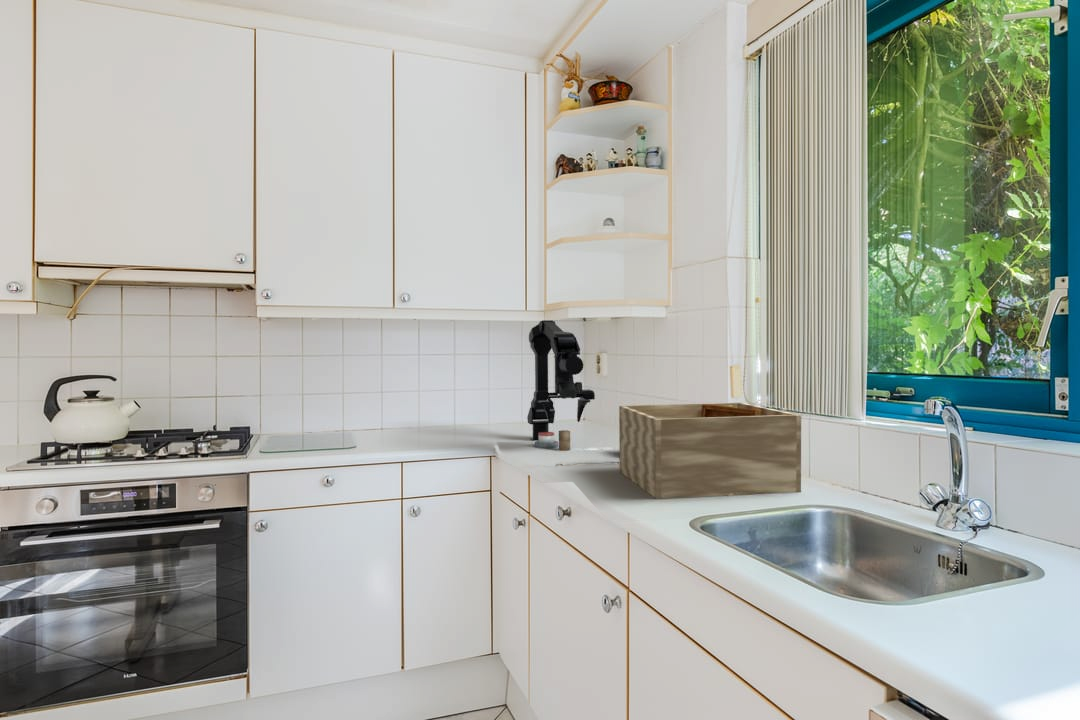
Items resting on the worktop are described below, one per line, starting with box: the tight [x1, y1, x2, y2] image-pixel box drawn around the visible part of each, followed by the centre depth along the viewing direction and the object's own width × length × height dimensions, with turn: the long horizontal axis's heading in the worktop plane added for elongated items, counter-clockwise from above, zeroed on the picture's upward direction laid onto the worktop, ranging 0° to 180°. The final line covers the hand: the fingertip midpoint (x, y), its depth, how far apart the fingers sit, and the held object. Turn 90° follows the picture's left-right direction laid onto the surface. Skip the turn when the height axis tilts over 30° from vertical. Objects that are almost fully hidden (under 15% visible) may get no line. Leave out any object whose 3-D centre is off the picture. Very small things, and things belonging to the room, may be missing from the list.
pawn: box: [558, 429, 571, 452], centre depth 193 cm, size 4×4×6 cm
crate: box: [618, 402, 802, 500], centre depth 154 cm, size 29×35×18 cm
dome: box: [538, 431, 555, 444], centre depth 200 cm, size 5×5×3 cm
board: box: [534, 440, 614, 453], centre depth 198 cm, size 15×24×2 cm, turn 99°
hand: (564, 422), depth 193 cm, fingers open, 9 cm apart
